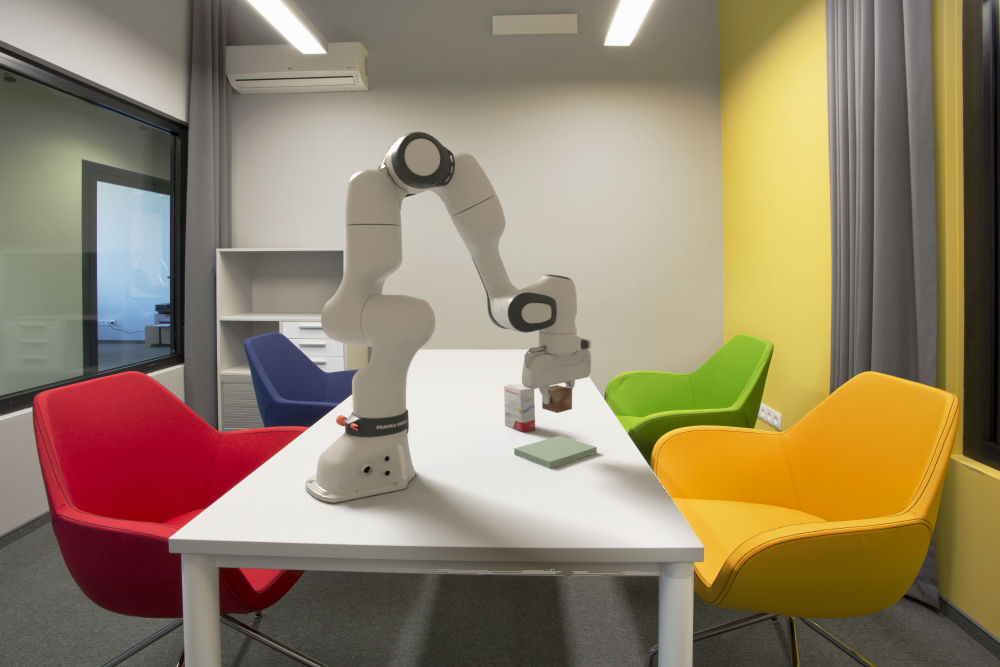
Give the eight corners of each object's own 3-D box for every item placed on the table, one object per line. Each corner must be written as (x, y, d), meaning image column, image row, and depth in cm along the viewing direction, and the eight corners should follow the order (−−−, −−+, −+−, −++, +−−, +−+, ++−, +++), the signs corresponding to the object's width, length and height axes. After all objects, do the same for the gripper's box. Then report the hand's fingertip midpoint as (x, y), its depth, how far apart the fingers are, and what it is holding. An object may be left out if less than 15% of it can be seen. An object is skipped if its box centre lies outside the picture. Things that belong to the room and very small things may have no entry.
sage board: (549, 468, 121) (549, 461, 120) (514, 454, 130) (514, 448, 130) (596, 453, 131) (596, 447, 131) (560, 441, 140) (560, 435, 140)
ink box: (535, 429, 150) (536, 388, 149) (521, 432, 147) (521, 390, 146) (517, 422, 157) (517, 382, 156) (503, 425, 154) (503, 384, 153)
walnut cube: (557, 413, 126) (557, 392, 125) (542, 408, 130) (542, 388, 129) (571, 409, 129) (572, 388, 128) (556, 404, 133) (556, 385, 132)
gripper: (534, 350, 118) (534, 411, 120) (595, 340, 131) (594, 396, 133) (515, 347, 123) (515, 406, 125) (576, 338, 136) (575, 391, 138)
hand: (557, 401), depth 129 cm, fingers closed on walnut cube, 5 cm apart
